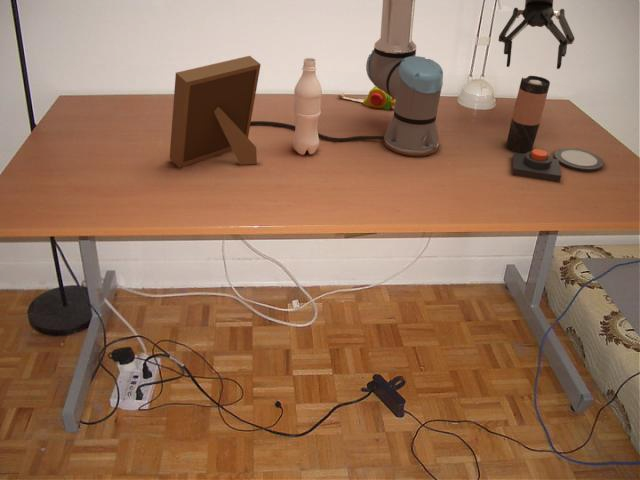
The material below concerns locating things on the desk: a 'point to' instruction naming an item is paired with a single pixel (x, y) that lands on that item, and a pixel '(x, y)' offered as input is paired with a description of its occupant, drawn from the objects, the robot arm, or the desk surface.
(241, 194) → the desk surface
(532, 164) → the switch
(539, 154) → the button
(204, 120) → the photo frame
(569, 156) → the plate
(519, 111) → the travel mug
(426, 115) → the robot arm
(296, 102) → the water bottle
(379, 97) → the toy measuring tape
